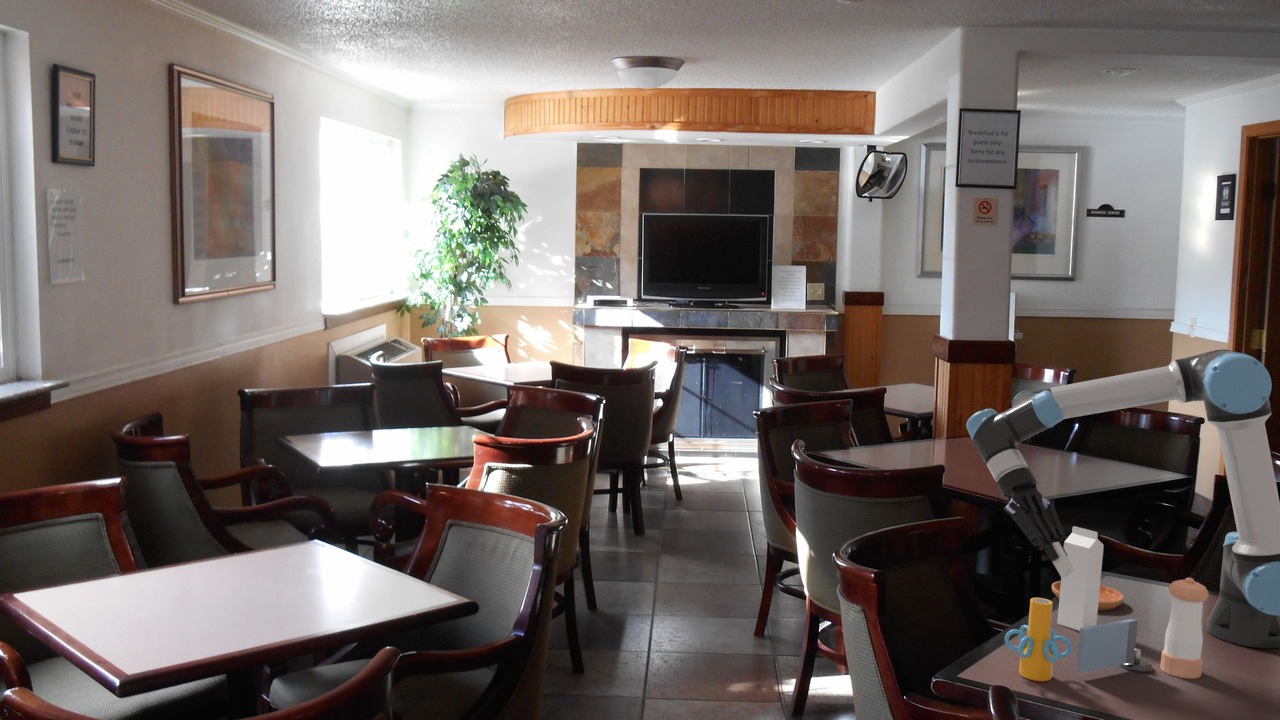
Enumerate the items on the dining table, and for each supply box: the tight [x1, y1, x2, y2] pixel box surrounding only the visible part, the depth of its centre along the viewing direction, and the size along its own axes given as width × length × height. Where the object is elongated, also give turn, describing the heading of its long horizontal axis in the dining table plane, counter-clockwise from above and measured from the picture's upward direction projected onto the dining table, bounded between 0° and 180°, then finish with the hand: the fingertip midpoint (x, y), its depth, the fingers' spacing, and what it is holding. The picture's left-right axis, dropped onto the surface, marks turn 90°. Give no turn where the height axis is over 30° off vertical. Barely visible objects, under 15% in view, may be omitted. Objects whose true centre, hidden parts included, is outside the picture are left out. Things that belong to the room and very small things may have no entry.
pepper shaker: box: [1160, 577, 1210, 680], centre depth 210 cm, size 7×7×19 cm
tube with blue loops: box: [1004, 597, 1073, 682], centre depth 205 cm, size 12×10×15 cm
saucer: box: [1051, 580, 1125, 611], centre depth 253 cm, size 16×16×3 cm
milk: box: [1057, 525, 1104, 632], centre depth 234 cm, size 6×6×22 cm
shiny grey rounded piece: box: [1119, 647, 1153, 674], centre depth 212 cm, size 6×6×4 cm
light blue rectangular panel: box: [1075, 618, 1139, 674], centre depth 208 cm, size 15×1×8 cm, turn 117°
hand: (1067, 573), depth 214 cm, fingers closed
